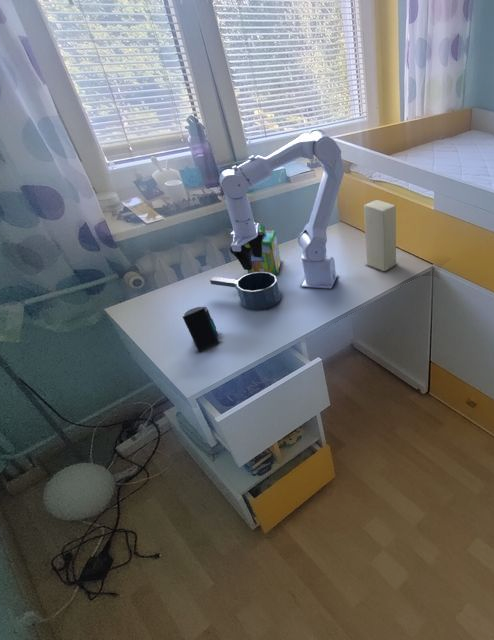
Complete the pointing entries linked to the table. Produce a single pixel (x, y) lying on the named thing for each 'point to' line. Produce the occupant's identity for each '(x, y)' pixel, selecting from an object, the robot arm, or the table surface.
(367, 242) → the tall cream block
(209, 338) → the speaker
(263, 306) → the saucepan
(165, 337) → the table surface
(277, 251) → the chalk box
